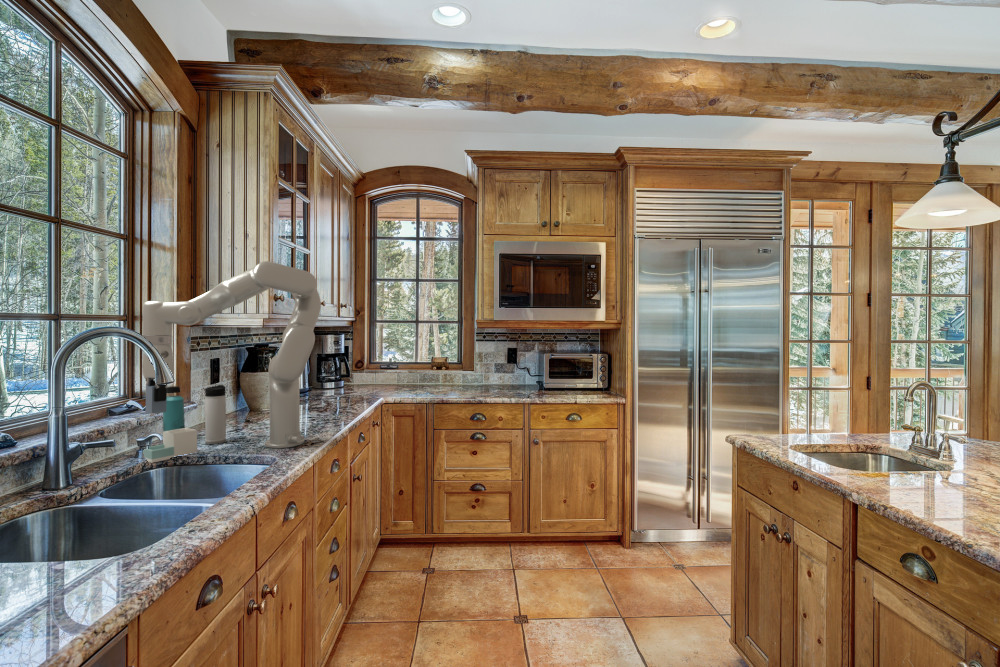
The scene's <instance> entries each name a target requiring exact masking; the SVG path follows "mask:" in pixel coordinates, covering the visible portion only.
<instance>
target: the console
mask: <svg viewBox="0 0 1000 667" xmlns="http://www.w3.org/2000/svg"><path fill="white" fill-rule="evenodd" d="M162 440H163V441H162V442H163V443H162V444H158V445H151V446H148V447H149V449H144V450H143V454H144V457H145V458H146V459H147V461H148V463H152V464H154V463H156V462H157V463H158V462H161V461H167V460H171V459H170V458H171V457H174V456H178V455H184V454H190V453H195V452H197V453H198V430H197V429H194V428H189V427H185V428H182V429H176V430H170V431H164V432H163V431H162ZM147 461H146V462H147Z"/></svg>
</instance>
